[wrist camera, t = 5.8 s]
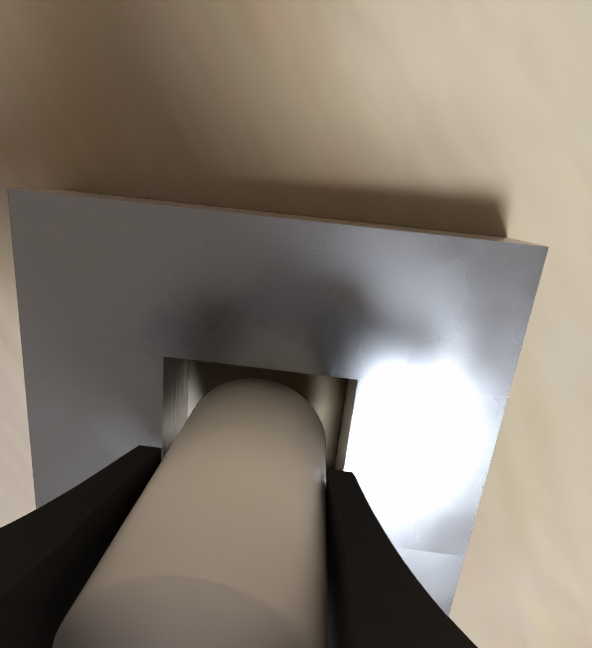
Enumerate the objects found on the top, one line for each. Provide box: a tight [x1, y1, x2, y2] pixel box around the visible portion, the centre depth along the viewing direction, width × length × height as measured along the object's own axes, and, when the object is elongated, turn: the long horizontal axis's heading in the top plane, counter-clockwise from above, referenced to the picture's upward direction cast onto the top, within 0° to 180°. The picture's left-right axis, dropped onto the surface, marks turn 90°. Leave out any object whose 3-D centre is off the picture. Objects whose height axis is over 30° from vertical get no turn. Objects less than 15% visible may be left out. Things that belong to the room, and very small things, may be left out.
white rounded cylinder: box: [52, 378, 327, 648], centre depth 10 cm, size 4×4×7 cm
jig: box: [8, 188, 548, 616], centre depth 15 cm, size 18×14×2 cm
